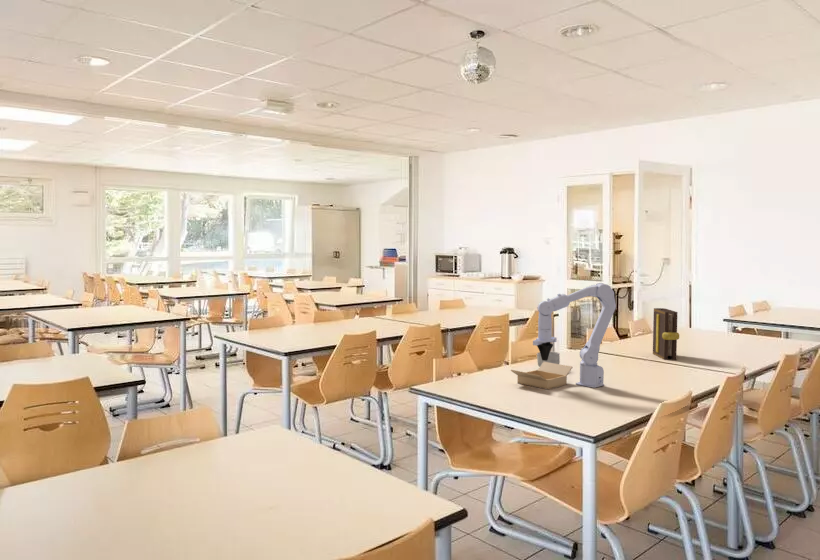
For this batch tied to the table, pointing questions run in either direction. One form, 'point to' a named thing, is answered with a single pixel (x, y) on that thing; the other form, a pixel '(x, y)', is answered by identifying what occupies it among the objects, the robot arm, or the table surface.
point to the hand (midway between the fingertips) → (544, 360)
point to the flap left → (529, 375)
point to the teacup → (549, 358)
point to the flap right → (555, 368)
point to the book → (665, 333)
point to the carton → (551, 382)
